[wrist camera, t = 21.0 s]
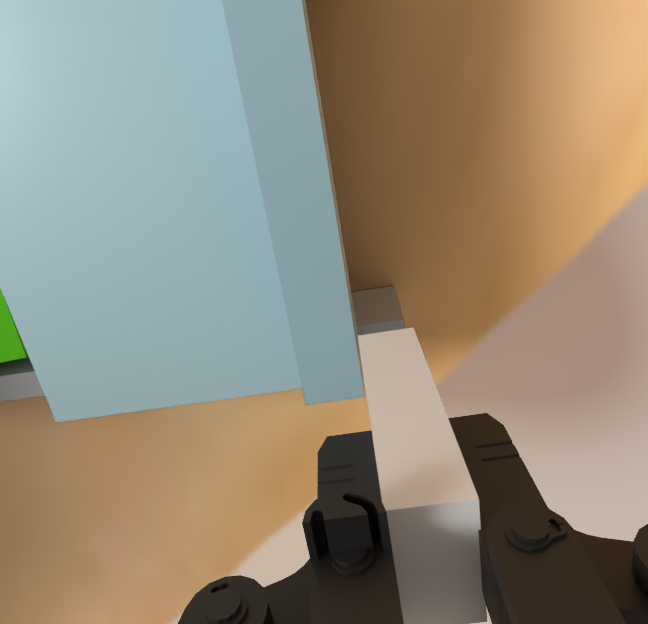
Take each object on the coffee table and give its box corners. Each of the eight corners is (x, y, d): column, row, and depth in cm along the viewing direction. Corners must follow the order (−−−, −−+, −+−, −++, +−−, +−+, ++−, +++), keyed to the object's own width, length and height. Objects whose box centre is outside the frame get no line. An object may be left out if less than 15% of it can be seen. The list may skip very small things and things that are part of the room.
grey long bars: (-75, 376, 28) (-137, 420, 24) (-253, 15, 22) (-373, 1, 18) (396, 309, 26) (407, 346, 23) (347, -104, 20) (350, -146, 16)
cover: (94, 354, 27) (2, 458, 20) (-70, -101, 20) (-311, -210, 13) (357, 316, 26) (366, 409, 19) (280, -177, 19) (246, -345, 12)
